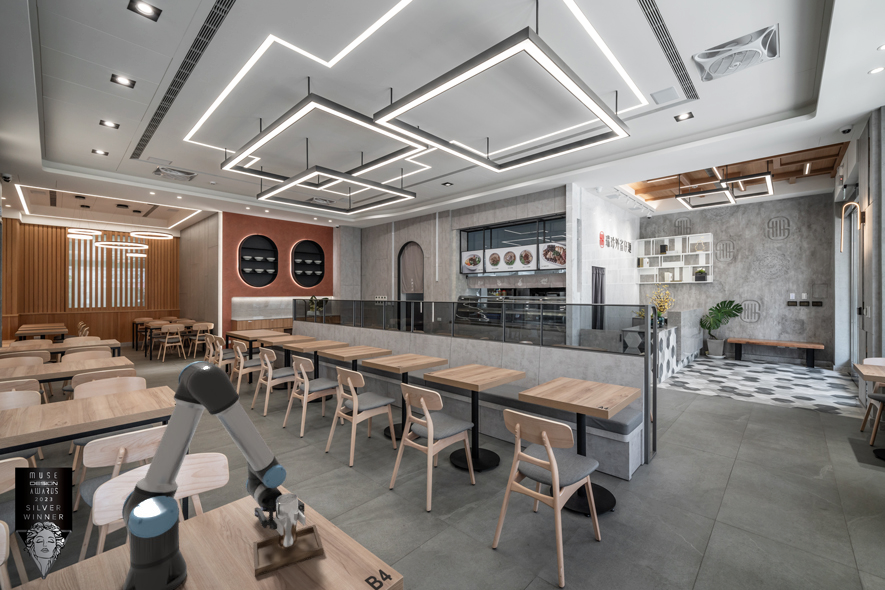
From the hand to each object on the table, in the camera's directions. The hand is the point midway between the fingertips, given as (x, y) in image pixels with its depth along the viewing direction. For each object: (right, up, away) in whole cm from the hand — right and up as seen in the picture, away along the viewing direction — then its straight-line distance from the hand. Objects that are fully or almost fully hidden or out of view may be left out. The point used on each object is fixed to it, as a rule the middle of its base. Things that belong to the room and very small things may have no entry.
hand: (293, 525), depth 123 cm
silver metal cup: (-3, -8, +4) cm, 10 cm away
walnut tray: (-3, -11, +4) cm, 12 cm away
